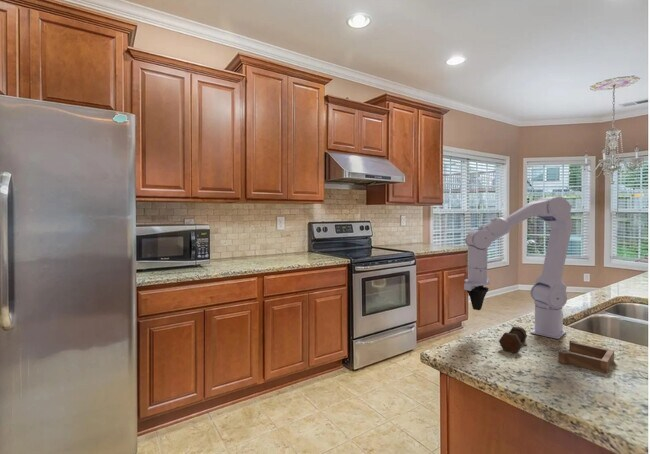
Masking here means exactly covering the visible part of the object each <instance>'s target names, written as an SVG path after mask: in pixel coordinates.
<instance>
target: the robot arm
mask: <svg viewBox="0 0 650 454" xmlns="http://www.w3.org/2000/svg"><path fill="white" fill-rule="evenodd" d="M571 210H572V205H571V204H570V202H569V201H568V200H567V199H566V198H565V197H563V196H554V197H539V198H536V199H534V201H533V200H531V201H530V202H528V203H527V204H526V205H524V206H522V207H520V208H519V209H517V210H516V211H514V212H512V213H511V214H509V215H507V216H506V217H504V218H503V217H493V218H491V219H490V222H488V223H486V224H484V225H479V226H478V230H477V229H475V230H471V231H469V232H467V234H466V237H465V238H464V243H465V244H466V246H467V278H465V279H464V280H463V281H464V284H463V290H464V291H466V293H467V294H468V296H469V299H470V302H471V307H472V310H475V311H481V310H482V307H483V304H484V300H485V298H486V295H487V293H488V292H489V287H487V286H489V285H490V283H491V282H490V281H491V280H490V278H488V248H489V247H490V246H491V244H492V243H493V242H495V241H496V240H499V239H500V238H501V237H502V238H503V236H505V235H507V234H509V233H510V231H511V228H512V227H514V226H516V225H518V224H519V223H521V222H524V221H526V220H528V219H529V218H532V217H537V218H539V219H540V220H542V221H543V222H545V223H546V224H547V225H548V226H549V227H550V231H549V232H550V233H549V236H548V241H547V246H546V251H545V252H546V253H545V258H544V262H543V266H542V269H541V270H542V271H541V274H540V276H537V278H535V281H534V284H533V286H532V287H531V288H530V291H529V292H530V296H531V299H532V300H533V301H534V303H533V304H534V329H531V330H529V331H530V332H529V333H530V334H534V335H537V336H542V337H546V338H547V337H548V338H552V339H556V340H560V338H562V337H563V336H564V335H565V334H566V333H567V330H565V329H563V327H564V326H563V325H564V324H563V323H564V311H563V308H564V306H565V305H566V304H567V301H568V294H567V285H566V283H565V282H564V281H563V273H564V269H565V265H566V259H567V254H568V250H569V244H570V240H571V235H572V229H573V220H572V215H571V212H572V211H571Z"/></svg>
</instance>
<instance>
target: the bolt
mask: <svg viewBox="0 0 650 454" xmlns="http://www.w3.org/2000/svg"><path fill="white" fill-rule="evenodd" d="M527 338H528V335H527V331H526V329H524V328H523V327H519V326H512V327H511V329H510V330H509V332H504V333H503V334H502V335H501V337H500V339H499V340H498V342H499V344H500V346H501V348H502V350H503V351H504V352H508V353H513V354H517V352H518V351H519V350H520V348H521V347H522V346H523V342H524V341H525V340H526V339H527Z"/></svg>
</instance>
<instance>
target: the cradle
mask: <svg viewBox="0 0 650 454" xmlns="http://www.w3.org/2000/svg"><path fill="white" fill-rule="evenodd" d="M568 346H569V351H568V350H565V349H564V350H563V349H562V350H558V356H557V357H558V361H557V362H558V363H561V364H563V365H568V364H569V365H573V366H576V367H580V368H584V369H587V370H592V371H596V372H600V373H603V374H608V372H609V371H610V368H612V365H613V364H614V362H615V350H613V349H608V348H604V347H601V346H594V345H590V344H585V343H580V342H578V341H577V340H570V339H569V345H568Z"/></svg>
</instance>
